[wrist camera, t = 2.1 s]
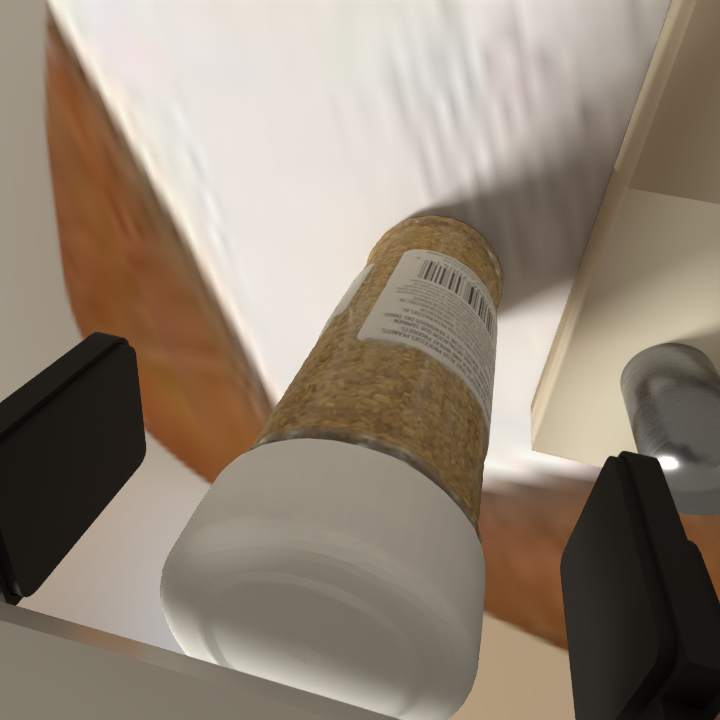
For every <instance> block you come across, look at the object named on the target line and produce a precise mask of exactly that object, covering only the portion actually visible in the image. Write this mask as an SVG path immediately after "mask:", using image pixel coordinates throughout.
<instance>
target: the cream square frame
mask: <svg viewBox="0 0 720 720" xmlns="http://www.w3.org/2000/svg"><path fill="white" fill-rule="evenodd" d="M531 442H532V450H533V451H537V452H541V453H545V454H549V455H554V456H558V457H562V458H566V459H570V460H574V461H578V462H582V463H586V464H590V465H594V466H598V467H602V468H603V465H604V463H605V461H606V460H607V458H608V457H609V456H615V457H618V455H619V454H620V453H621V452H622V451H629V452H633V453H638V454H642V455H647V456H651V457H655V458H657V459H658V460H659V462H660V464H661V467H662V470H663V472H664V475H665V478H666V481H667V484H668V486H669V489H670V492H671V495H672V498H673V500H674V503H675V506H676V509H677V511H678V512H681V513H685V514H691V515H715V514H720V0H672V2H671V5H670V8H669V10H668V13H667V16H666V19H665V22H664V25H663V28H662V31H661V33H660V36H659V39H658V42H657V45H656V48H655V51H654V54H653V56H652V59H651V62H650V65H649V68H648V71H647V74H646V77H645V79H644V82H643V85H642V88H641V91H640V94H639V97H638V100H637V102H636V105H635V108H634V111H633V114H632V117H631V120H630V123H629V125H628V128H627V131H626V134H625V137H624V140H623V143H622V146H621V148H620V151H619V154H618V157H617V160H616V163H615V166H614V169H613V171H612V174H611V177H610V180H609V183H608V186H607V189H606V192H605V194H604V197H603V200H602V203H601V206H600V209H599V212H598V215H597V217H596V220H595V223H594V226H593V229H592V232H591V235H590V238H589V240H588V243H587V246H586V249H585V252H584V255H583V258H582V261H581V263H580V266H579V269H578V272H577V275H576V278H575V281H574V284H573V286H572V289H571V292H570V295H569V298H568V301H567V304H566V307H565V309H564V312H563V315H562V318H561V321H560V324H559V327H558V330H557V332H556V335H555V338H554V341H553V344H552V347H551V350H550V353H549V355H548V358H547V361H546V364H545V367H544V370H543V373H542V376H541V378H540V381H539V384H538V387H537V390H536V393H535V396H534V399H533V401H532V404H531Z"/></svg>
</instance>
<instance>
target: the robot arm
mask: <svg viewBox="0 0 720 720" xmlns="http://www.w3.org/2000/svg"><path fill="white" fill-rule="evenodd" d="M145 454H146V441H145V432H144V423H143V414H142V405H141V396H140V387H139V377H138V368H137V359H136V352H135V350H134V348H133V347H130V346H129V343H128V341H127V339H125V338H123V337H118V336H114V335H109V334H105V333H101V332H95V333H93V334H91V335H90V336H89V337H87V338H86V339H85V340H83V341H82V342H81V343H79V344H78V345H77V346H75V347H74V348H73V349H71V350H70V351H69V352H67V353H66V354H65V355H63V356H62V357H61V358H59V359H58V360H57V361H55V362H54V363H53V364H51V365H50V366H49V367H47V368H46V369H45V370H43V371H42V372H41V373H40V374H38V375H37V376H35V377H34V378H33V379H31V380H30V381H29V382H27V383H26V384H25V385H24V386H22V387H21V388H19V389H18V390H17V391H15V392H14V393H13V394H11V395H10V396H9V397H7V398H6V399H5V400H3V401H2V402H1V403H0V720H401V719H398V718H394V717H391V716H388V715H384V714H381V713H378V712H374V711H371V710H368V709H364V708H361V707H358V706H354V705H351V704H348V703H345V702H341V701H338V700H335V699H331V698H328V697H325V696H321V695H318V694H315V693H311V692H308V691H305V690H301V689H298V688H294V687H291V686H288V685H284V684H281V683H278V682H274V681H271V680H267V679H264V678H261V677H257V676H254V675H251V674H247V673H244V672H240V671H237V670H234V669H230V668H227V667H224V666H220V665H217V664H213V663H210V662H207V661H203V660H200V659H196V658H193V657H190V656H186V655H183V654H179V653H176V652H173V651H169V650H166V649H163V648H159V647H155V646H152V645H149V644H146V643H142V642H138V641H135V640H132V639H128V638H124V637H121V636H118V635H114V634H110V633H107V632H104V631H101V630H97V629H94V628H90V627H87V626H83V625H80V624H76V623H73V622H70V621H66V620H63V619H59V618H56V617H52V616H49V615H45V614H42V613H39V612H35V611H32V610H28V609H25V608H21V607H18V606H16V605H17V604H18V603H19V601H20V600H21V599H22V598H23V597H28V596H31V595H32V594H34V593H35V592H36V591H37V590H38V588H39V587H40V586H41V585H42V584H43V582H44V581H45V580H46V579H47V578H48V576H49V575H50V574H51V573H52V571H53V570H54V569H55V568H56V566H57V565H58V564H59V563H60V562H61V561H62V559H63V558H64V557H65V556H66V555H67V553H68V552H69V551H70V550H71V549H72V547H73V546H74V544H76V542H77V541H78V540H79V539H80V538H81V536H82V535H83V534H84V533H85V531H86V530H87V529H88V528H89V527H90V526H91V524H92V523H93V522H94V521H95V519H96V518H97V517H98V516H99V515H100V513H101V512H102V511H103V510H104V509H105V507H106V506H107V505H108V504H109V503H110V501H111V500H112V499H113V498H114V496H115V495H116V494H117V493H118V492H119V490H120V489H121V488H122V487H123V486H124V484H125V483H126V482H127V481H128V480H129V478H130V477H131V476H132V475H133V473H134V472H135V471H136V470H137V469H138V467H139V466H140V465H141V463H142V462H143V459H144V457H145ZM560 573H561V583H562V593H563V602H564V612H565V622H566V632H567V641H568V651H569V661H570V670H571V680H572V690H573V699H574V709H575V719H576V720H720V603H719V600H718V598H717V595H716V592H715V590H714V587H713V584H712V581H711V579H710V576H709V573H708V571H707V568H706V565H705V563H704V560H703V557H702V555H701V552H700V551H699V549H698V547H697V545H696V544H694V543H693V542H692V541H689V540H687V537H686V534H685V531H684V528H683V526H682V523H681V520H680V517H679V514H678V512H677V509H676V506H675V503H674V500H673V498H672V495H671V492H670V489H669V486H668V484H667V481H666V478H665V475H664V472H663V470H662V467H661V464H660V462H659V460H658V459H657V458H655V457H651V456H647V455H642V454H638V453H633V452H629V451H622V452H621V453H620V454H619V455H618V457H615V456H609V457H608V458H607V460H606V461H605V463H604V465H603V468H602V470H601V472H600V474H599V476H598V478H597V481H596V483H595V485H594V487H593V489H592V491H591V493H590V496H589V498H588V500H587V502H586V504H585V506H584V508H583V511H582V513H581V515H580V517H579V519H578V521H577V523H576V526H575V528H574V530H573V532H572V534H571V536H570V538H569V541H568V543H567V545H566V547H565V549H564V552H563V554H562V558H561V565H560Z"/></svg>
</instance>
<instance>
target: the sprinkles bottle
mask: <svg viewBox="0 0 720 720" xmlns="http://www.w3.org/2000/svg"><path fill="white" fill-rule="evenodd" d="M502 284H503V279H502V271H501V267H500V263H499V260H498V258H497V256H496V254H495V253H494V251H493V249H492V247H491V246H490V244H489V243H488V242H487V241H486V240H485V239H484V238H483V237H482V235H481V234H480V233H479V232H477V231H476V230H475V229H473V228H471V227H469V226H468V225H466V224H465V223H463V222H461V221H458V220H456V219H453V218H447V217H442V216H433V215H430V216H426V217H417V218H410V219H407V220H404V221H402V222H401V223H399V224H397V225H396V226H394V227H393V228H391V229H390V230H389V231H387V232H386V233H385V234H384V235H383V236H382V238H381V239H380V240H379V241H378V242H377V244H376V245H375V247H374V248H373V249H372V251H371V252H370V254H369V257H368V260H367V264H366V266H365V268H364V269H363V271H362V272H361V273H360V274H359V275H358V276H357V277H356V278H355V280H354V281H353V283H352V284H351V285H350V287H349V289H348V290H347V292H346V293H345V294H344V296H343V297H342V299H341V301H340V302H339V304H338V305H337V307H336V308H335V310H334V312H333V313H332V315H331V317H330V318H329V320H328V321H327V323H326V324H325V326H324V328H323V330H322V332H321V334H320V336H319V339H318V341H317V343H316V345H315V347H314V348H313V349H312V351H311V352H310V354H309V356H308V358H307V359H306V360H305V362H304V363H303V365H302V367H301V368H300V370H299V372H298V373H297V375H296V376H295V378H294V380H293V381H292V383H291V384H290V385H289V387H288V389H287V390H286V392H285V394H284V396H283V397H282V399H281V400H280V401H279V403H278V404H277V405H276V407H275V409H274V411H273V413H272V415H271V416H270V418H269V419H268V422H267V424H266V425H265V427H264V428H263V430H262V431H261V433H260V434H259V436H258V438H257V440H256V442H255V444H253V445H252V446H251V447H249V448H248V449H247V450H246V451H245V453H244V454H243V455H241V456H239V457H238V458H236V459H235V460H234V461H233V462H231V463H230V464H229V465H228V466H227V467H226V468H225V469H224V470H223V471H222V472H221V473H220V474H219V475H218V477H217V478H216V480H215V481H214V483H213V484H212V486H211V487H210V489H209V490H208V492H207V493H206V495H205V496H204V498H203V499H202V501H201V502H200V504H199V505H198V507H197V509H196V510H195V512H194V513H193V515H192V517H191V518H190V520H189V522H188V523H187V525H186V526H185V528H184V530H183V531H182V533H181V535H180V537H179V538H178V540H177V542H176V543H175V545H174V546H173V548H172V550H171V551H170V553H169V555H168V557H167V560H166V562H165V564H164V567H163V570H162V577H161V585H160V596H161V603H162V608H163V611H164V615H165V618H166V621H167V623H168V625H169V627H170V630H171V632H172V634H173V635H174V637H175V639H176V640H177V642H178V643H179V645H180V646H181V648H182V649H183V651H184V652H185V653H186V654H187V656H190V657H193V658H196V659H200V660H203V661H207V662H210V663H213V664H217V665H220V666H224V667H227V668H230V669H234V670H237V671H240V672H244V673H247V674H251V675H254V676H257V677H261V678H264V679H267V680H271V681H274V682H278V683H281V684H284V685H288V686H291V687H294V688H298V689H301V690H305V691H308V692H311V693H315V694H318V695H321V696H325V697H328V698H331V699H335V700H338V701H341V702H345V703H348V704H351V705H354V706H358V707H361V708H364V709H368V710H371V711H374V712H378V713H381V714H384V715H388V716H391V717H394V718H398V719H401V720H448V718H450V717H451V716H452V715H453V714H454V713H455V712H457V711H458V710H459V708H460V707H461V706H462V705H463V703H464V702H465V700H466V698H467V697H468V695H469V693H470V692H471V690H472V687H473V684H474V680H475V677H476V673H477V669H478V660H479V651H480V643H481V632H482V621H483V608H484V592H485V577H486V575H485V561H484V556H483V551H482V547H481V541H482V539H481V536H480V533H479V529H478V519H479V514H480V503H481V489H482V482H483V470H484V461H485V458H486V455H487V451H488V445H489V435H490V423H491V412H492V398H493V385H494V374H495V359H496V343H497V317H496V309H497V306H498V302H499V300H500V298H501V295H502Z"/></svg>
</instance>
